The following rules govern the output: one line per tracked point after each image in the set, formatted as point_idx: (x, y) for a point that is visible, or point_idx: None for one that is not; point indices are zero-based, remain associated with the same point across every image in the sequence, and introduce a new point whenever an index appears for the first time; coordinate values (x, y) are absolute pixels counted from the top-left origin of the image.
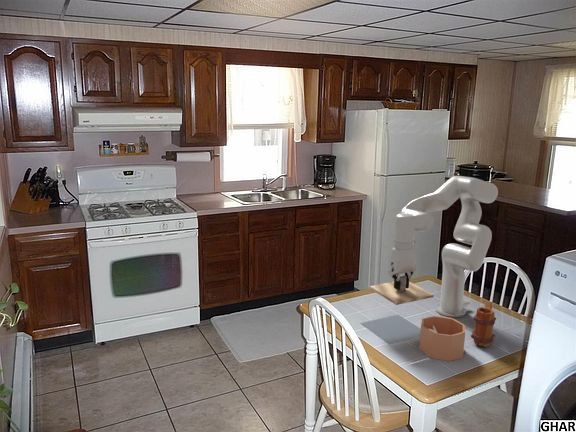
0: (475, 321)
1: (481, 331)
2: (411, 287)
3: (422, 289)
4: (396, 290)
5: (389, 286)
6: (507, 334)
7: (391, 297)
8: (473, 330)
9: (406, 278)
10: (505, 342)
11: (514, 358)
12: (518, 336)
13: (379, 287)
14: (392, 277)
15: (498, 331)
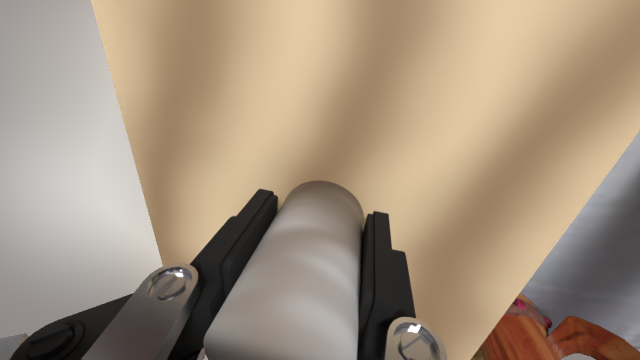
0: (515, 357)
1: (483, 354)
2: (465, 231)
3: (496, 304)
4: (283, 197)
5: (289, 83)
6: (622, 321)
7: (176, 250)
8: (516, 304)
9: (358, 355)
10: (552, 329)
11: (473, 356)
12: (629, 339)
13: (169, 43)
14: (106, 312)
15: (630, 302)
